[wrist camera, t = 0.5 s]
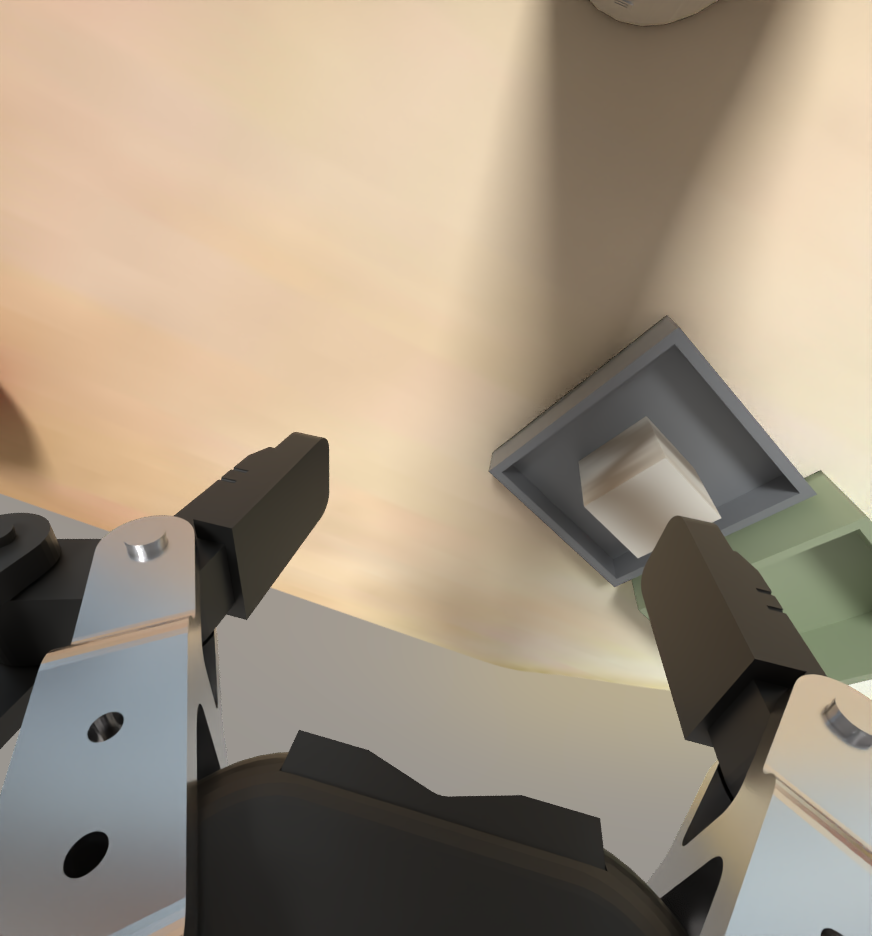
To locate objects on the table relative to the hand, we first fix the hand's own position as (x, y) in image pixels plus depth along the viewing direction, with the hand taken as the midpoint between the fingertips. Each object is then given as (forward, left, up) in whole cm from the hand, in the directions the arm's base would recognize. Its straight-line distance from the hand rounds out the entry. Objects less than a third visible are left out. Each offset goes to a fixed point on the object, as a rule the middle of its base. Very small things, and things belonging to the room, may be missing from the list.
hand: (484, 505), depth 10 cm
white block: (+1, +12, -18) cm, 21 cm away
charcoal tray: (+1, +12, -18) cm, 22 cm away
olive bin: (0, +26, -18) cm, 32 cm away
